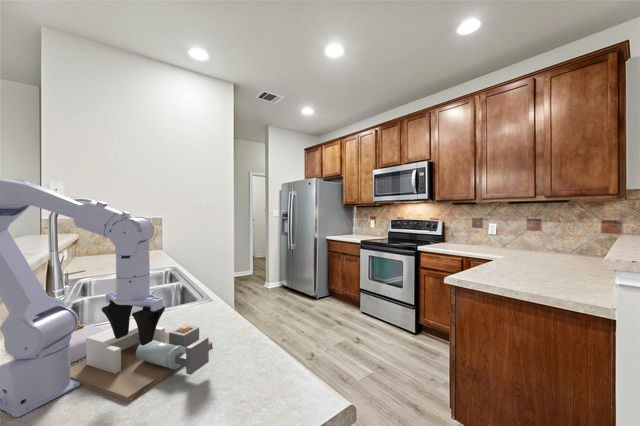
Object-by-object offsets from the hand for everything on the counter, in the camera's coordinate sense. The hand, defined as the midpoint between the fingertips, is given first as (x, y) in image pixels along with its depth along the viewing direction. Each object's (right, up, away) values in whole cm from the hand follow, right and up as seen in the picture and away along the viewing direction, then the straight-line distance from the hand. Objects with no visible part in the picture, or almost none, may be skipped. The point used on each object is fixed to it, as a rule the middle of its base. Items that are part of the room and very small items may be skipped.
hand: (133, 339), depth 55 cm
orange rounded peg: (+3, -8, +14) cm, 17 cm away
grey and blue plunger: (+5, -8, +5) cm, 11 cm away
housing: (-4, -8, +11) cm, 14 cm away
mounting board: (-4, -9, +9) cm, 14 cm away
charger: (-22, -10, +16) cm, 29 cm away
